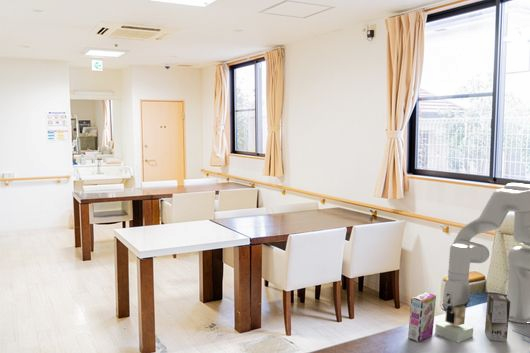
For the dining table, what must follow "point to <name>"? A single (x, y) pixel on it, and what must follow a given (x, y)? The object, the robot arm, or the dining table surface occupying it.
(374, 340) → the dining table surface
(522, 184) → the robot arm
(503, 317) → the coffee box
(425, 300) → the candy bar box
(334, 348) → the dining table surface
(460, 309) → the beech block
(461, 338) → the sage base block
